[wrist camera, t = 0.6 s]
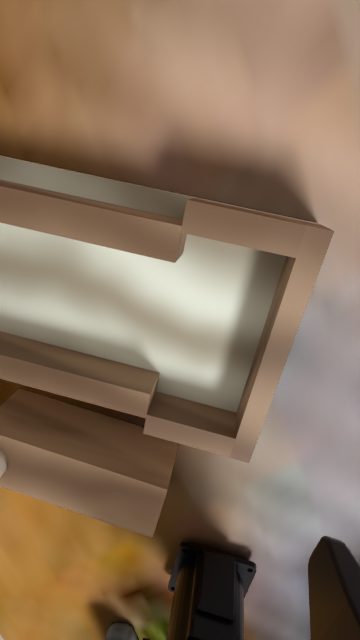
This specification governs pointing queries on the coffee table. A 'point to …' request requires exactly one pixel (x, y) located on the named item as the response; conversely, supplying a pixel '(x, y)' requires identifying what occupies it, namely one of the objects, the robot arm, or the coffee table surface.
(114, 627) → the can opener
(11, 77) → the coffee table surface
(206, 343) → the jig
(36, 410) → the long tan block
